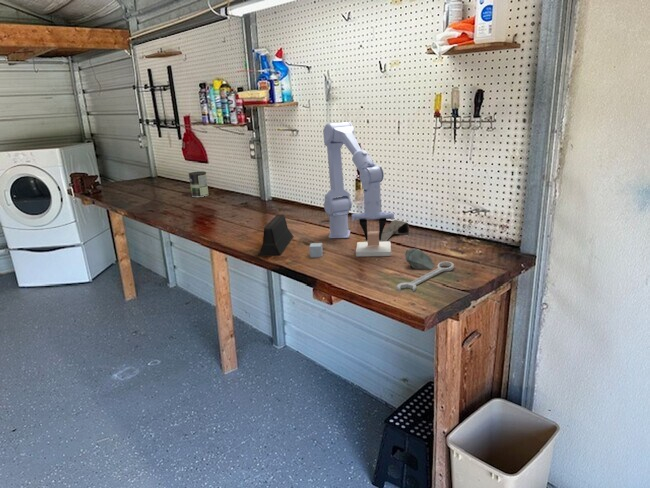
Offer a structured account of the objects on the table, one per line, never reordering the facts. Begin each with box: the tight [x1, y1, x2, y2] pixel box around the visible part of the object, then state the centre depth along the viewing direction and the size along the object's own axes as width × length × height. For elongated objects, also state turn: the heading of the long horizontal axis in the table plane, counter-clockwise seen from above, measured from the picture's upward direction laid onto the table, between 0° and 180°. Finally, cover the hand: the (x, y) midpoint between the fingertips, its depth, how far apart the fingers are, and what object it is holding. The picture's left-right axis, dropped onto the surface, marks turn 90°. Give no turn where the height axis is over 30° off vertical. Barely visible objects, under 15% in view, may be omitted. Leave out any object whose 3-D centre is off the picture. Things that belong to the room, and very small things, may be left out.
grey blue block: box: [308, 242, 324, 258], centre depth 166 cm, size 4×4×4 cm
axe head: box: [363, 219, 410, 242], centre depth 183 cm, size 21×5×10 cm
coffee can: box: [188, 171, 210, 198], centre depth 288 cm, size 10×10×14 cm
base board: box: [355, 240, 392, 257], centre depth 168 cm, size 12×12×2 cm
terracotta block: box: [367, 230, 379, 246], centre depth 167 cm, size 4×4×4 cm
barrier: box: [257, 214, 294, 257], centre depth 179 cm, size 24×9×10 cm, turn 172°
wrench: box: [396, 260, 455, 292], centre depth 141 cm, size 26×6×2 cm, turn 135°
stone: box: [404, 247, 435, 271], centre depth 152 cm, size 11×4×10 cm
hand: (373, 239), depth 167 cm, fingers closed on terracotta block, 4 cm apart
